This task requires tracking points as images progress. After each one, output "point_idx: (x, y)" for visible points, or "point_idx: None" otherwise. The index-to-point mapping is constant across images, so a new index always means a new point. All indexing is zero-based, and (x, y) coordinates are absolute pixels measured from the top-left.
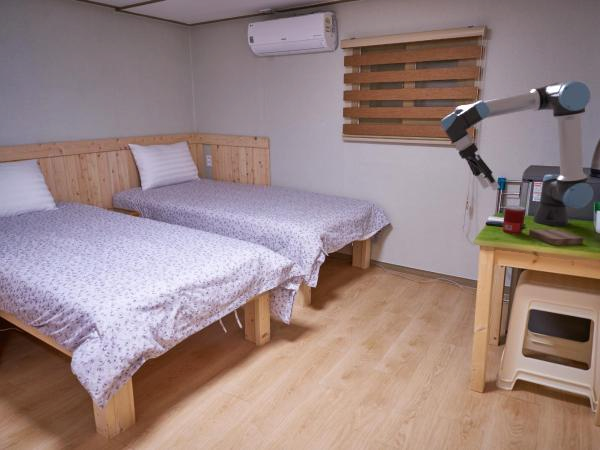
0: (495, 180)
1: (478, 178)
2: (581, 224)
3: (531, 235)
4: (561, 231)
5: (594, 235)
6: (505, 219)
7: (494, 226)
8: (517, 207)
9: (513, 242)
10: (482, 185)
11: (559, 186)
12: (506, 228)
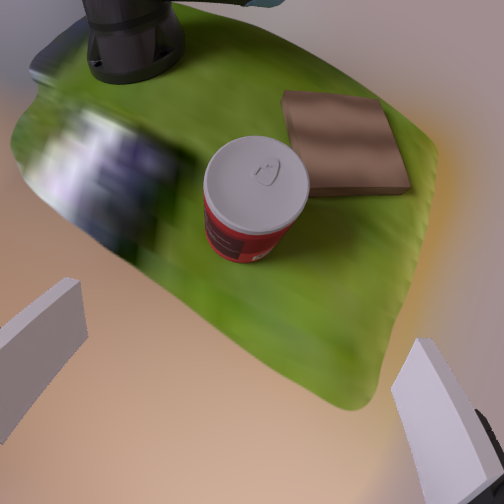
0: (467, 400)
1: (14, 419)
2: (176, 12)
3: (316, 194)
4: (317, 101)
5: (284, 39)
6: (251, 251)
7: (152, 258)
8: (236, 158)
9: (385, 303)
10: (66, 360)
11: None
12: (259, 257)
